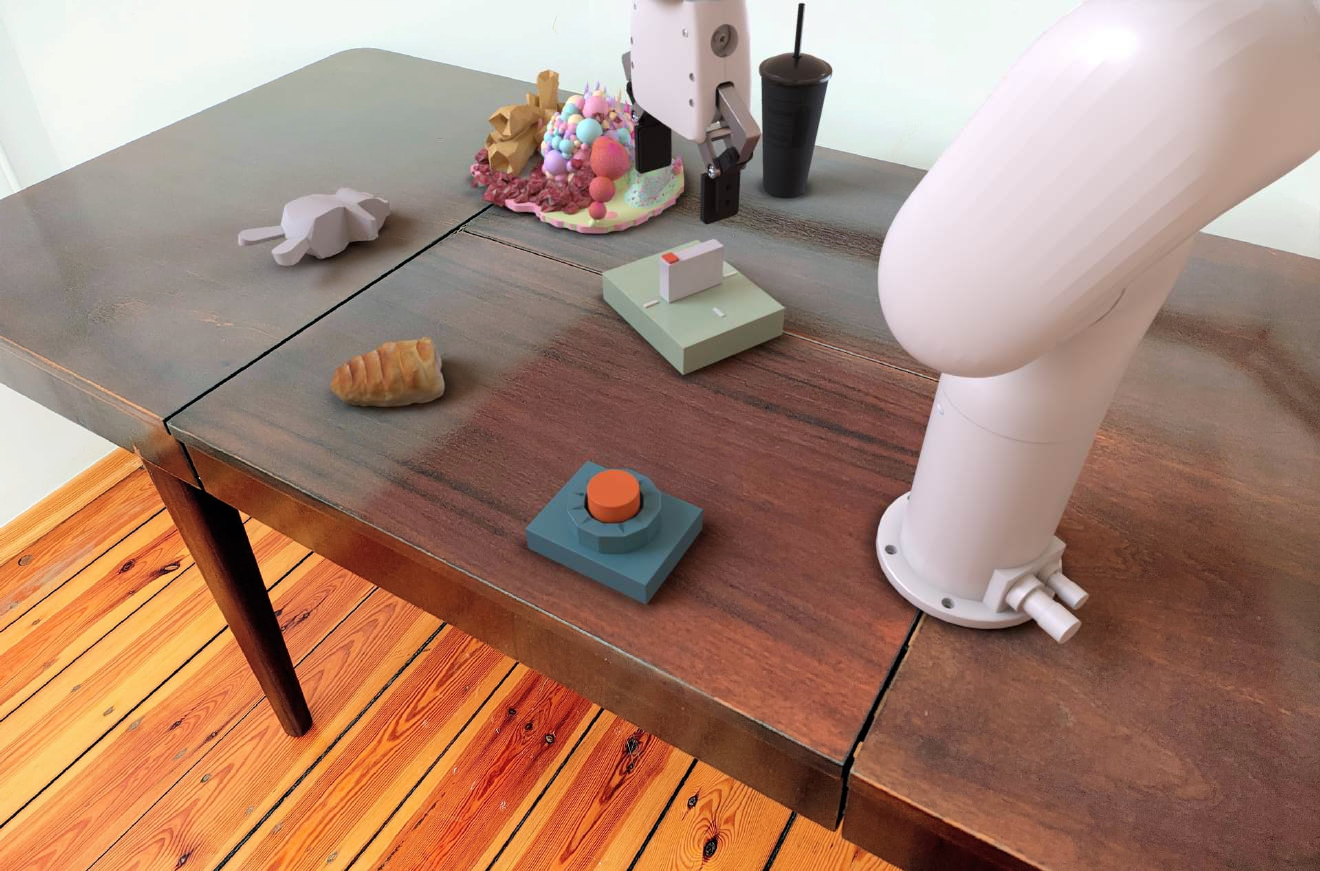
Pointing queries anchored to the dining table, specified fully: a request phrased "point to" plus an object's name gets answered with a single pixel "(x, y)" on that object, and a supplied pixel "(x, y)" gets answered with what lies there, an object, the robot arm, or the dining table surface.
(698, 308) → the panel
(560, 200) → the pastel sphere sculpture
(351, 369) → the pastry
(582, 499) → the button block
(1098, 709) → the dining table surface
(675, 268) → the white block with red
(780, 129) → the drinking cup
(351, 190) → the bunny figurine
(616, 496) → the button
